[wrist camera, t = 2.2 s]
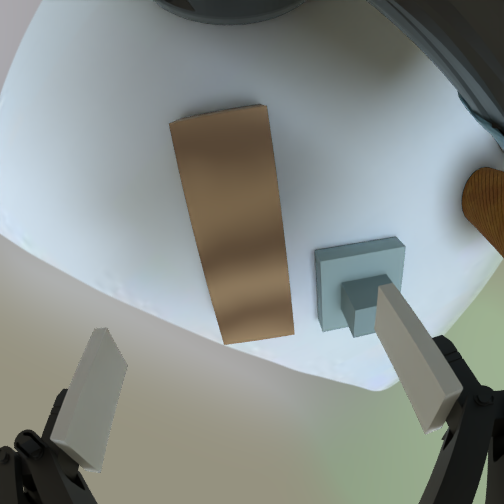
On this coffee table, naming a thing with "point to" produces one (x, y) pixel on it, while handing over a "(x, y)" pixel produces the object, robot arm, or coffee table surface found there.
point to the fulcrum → (356, 282)
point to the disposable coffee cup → (486, 205)
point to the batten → (237, 219)
